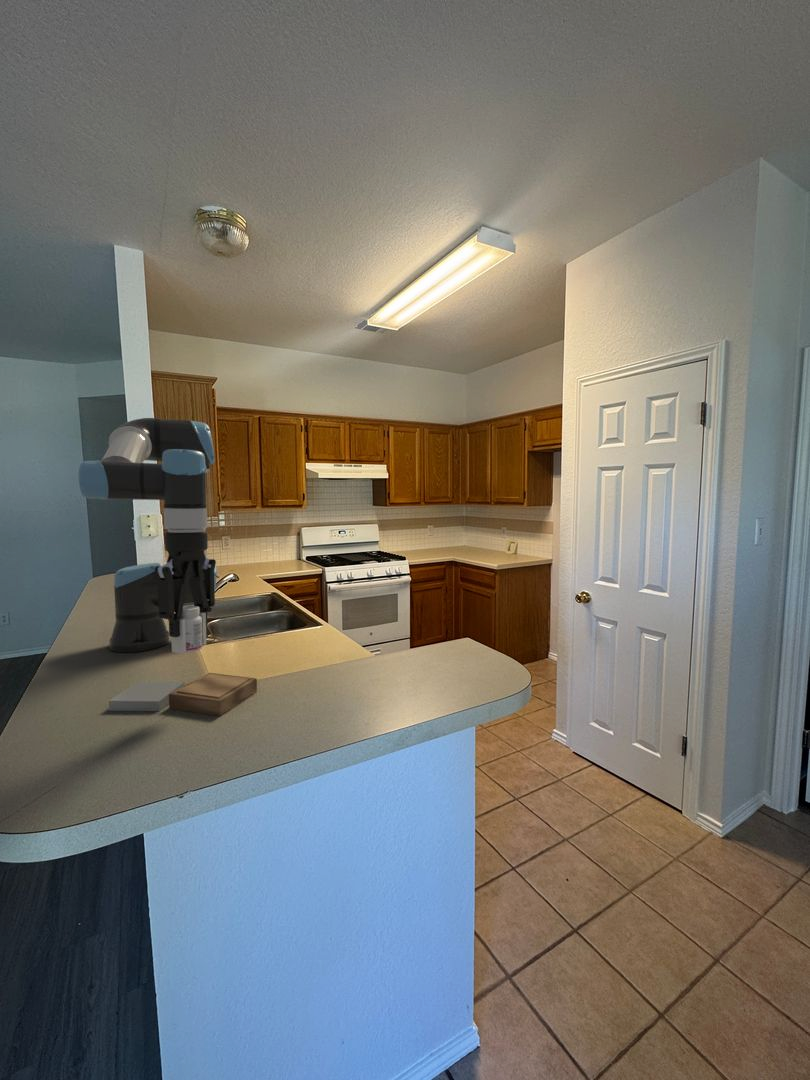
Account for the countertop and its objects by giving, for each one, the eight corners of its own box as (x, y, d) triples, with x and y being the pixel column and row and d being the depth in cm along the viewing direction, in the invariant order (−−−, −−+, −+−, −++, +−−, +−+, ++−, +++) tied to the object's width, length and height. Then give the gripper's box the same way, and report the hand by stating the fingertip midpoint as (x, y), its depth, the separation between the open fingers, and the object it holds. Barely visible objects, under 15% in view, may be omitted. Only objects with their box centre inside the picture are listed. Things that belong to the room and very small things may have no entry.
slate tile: (139, 690, 99) (138, 681, 99) (184, 690, 99) (184, 681, 99) (109, 710, 89) (108, 700, 89) (159, 711, 89) (159, 701, 89)
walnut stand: (210, 685, 102) (209, 671, 102) (256, 691, 99) (256, 677, 99) (169, 708, 91) (168, 692, 90) (220, 716, 87) (220, 699, 87)
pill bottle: (170, 652, 88) (169, 609, 87) (186, 645, 93) (184, 604, 92) (192, 654, 87) (191, 610, 87) (207, 646, 92) (206, 605, 91)
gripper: (203, 528, 98) (206, 634, 100) (131, 532, 81) (136, 660, 83) (232, 528, 95) (234, 637, 97) (165, 534, 79) (169, 665, 80)
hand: (189, 647), depth 90 cm, fingers closed on pill bottle, 5 cm apart
